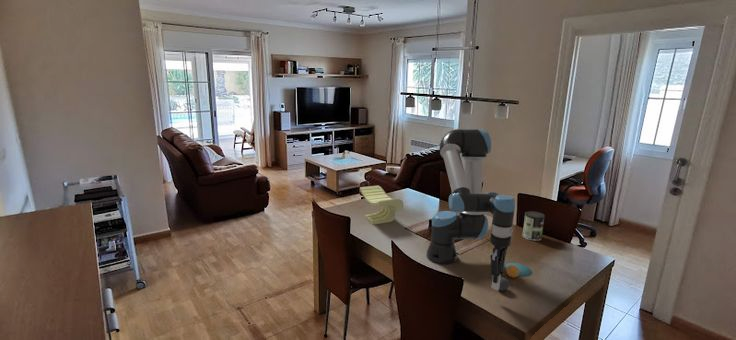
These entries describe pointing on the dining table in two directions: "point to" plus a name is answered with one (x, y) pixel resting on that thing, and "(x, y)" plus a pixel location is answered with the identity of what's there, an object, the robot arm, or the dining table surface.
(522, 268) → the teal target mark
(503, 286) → the charcoal ball
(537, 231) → the coffee can
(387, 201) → the slatted curved stool
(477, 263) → the dining table surface
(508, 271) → the orange ball
